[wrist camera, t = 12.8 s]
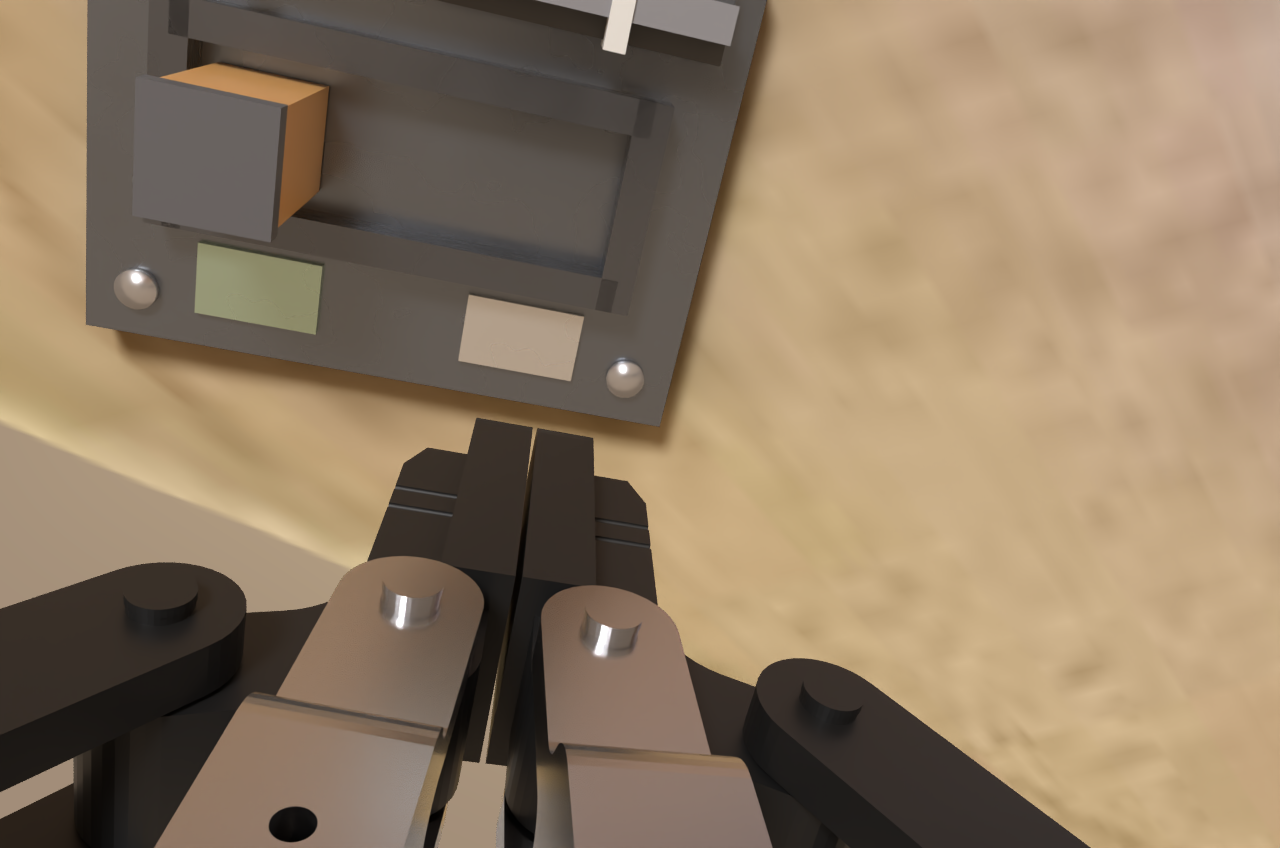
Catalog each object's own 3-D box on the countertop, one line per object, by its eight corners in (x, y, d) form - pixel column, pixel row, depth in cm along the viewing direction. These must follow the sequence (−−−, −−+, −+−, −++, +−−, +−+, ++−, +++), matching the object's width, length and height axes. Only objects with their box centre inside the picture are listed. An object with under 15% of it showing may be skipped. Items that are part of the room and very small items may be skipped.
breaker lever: (332, 83, 28) (281, 107, 23) (322, 195, 30) (270, 242, 24) (214, 57, 28) (135, 77, 23) (208, 172, 29) (132, 215, 24)
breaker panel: (763, -26, 29) (781, -25, 27) (655, 408, 35) (662, 442, 32) (113, -188, 27) (66, -204, 24) (106, 309, 32) (68, 337, 30)
